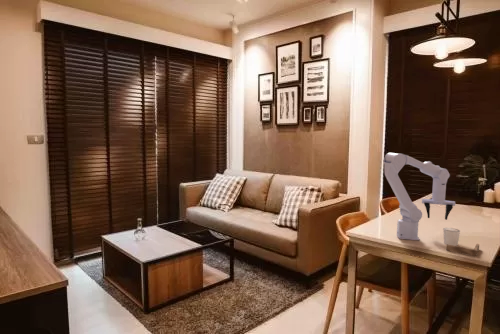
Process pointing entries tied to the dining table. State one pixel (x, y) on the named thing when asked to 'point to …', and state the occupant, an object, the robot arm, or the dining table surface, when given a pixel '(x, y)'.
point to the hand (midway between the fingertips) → (437, 218)
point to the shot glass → (451, 236)
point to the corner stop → (463, 250)
